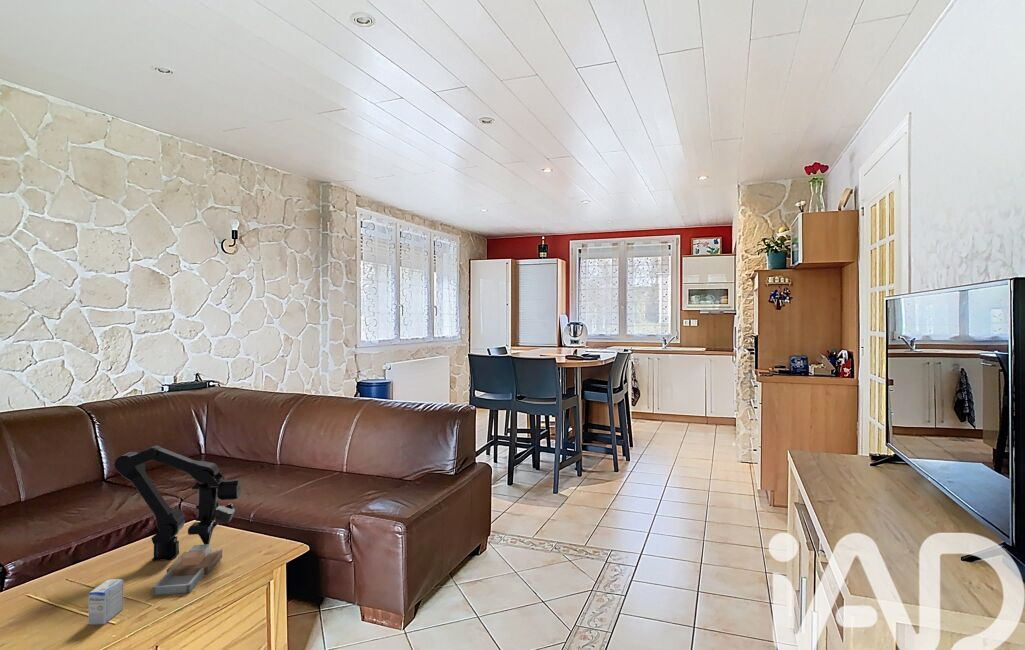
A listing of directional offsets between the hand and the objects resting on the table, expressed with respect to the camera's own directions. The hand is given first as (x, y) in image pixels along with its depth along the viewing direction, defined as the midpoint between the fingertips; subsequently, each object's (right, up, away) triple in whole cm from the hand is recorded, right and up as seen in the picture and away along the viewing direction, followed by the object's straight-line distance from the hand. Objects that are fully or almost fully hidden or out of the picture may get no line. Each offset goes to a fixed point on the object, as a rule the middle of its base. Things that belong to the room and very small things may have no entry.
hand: (206, 545), depth 194 cm
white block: (+1, -1, -7) cm, 7 cm away
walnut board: (+2, -3, -10) cm, 11 cm away
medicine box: (-5, -3, -42) cm, 42 cm away
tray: (+4, -3, -23) cm, 24 cm away
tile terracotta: (+2, -1, -12) cm, 13 cm away
